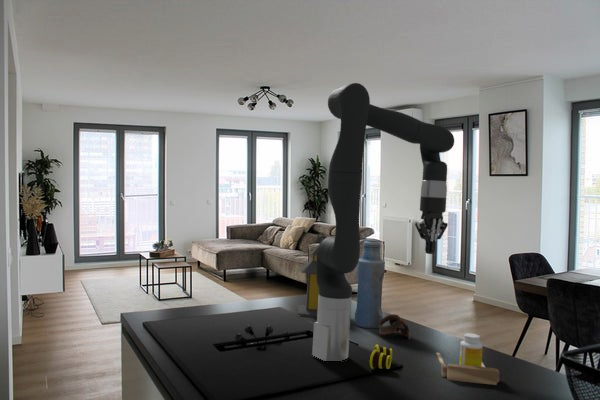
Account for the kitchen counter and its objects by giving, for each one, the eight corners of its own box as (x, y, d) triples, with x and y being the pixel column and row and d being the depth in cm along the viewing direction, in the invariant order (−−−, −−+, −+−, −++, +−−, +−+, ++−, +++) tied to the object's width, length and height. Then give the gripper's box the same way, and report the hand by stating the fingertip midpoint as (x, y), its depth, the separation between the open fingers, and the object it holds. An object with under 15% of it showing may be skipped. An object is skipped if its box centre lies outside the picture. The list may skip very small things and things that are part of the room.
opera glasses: (389, 374, 131) (390, 354, 131) (368, 371, 133) (370, 352, 133) (392, 362, 141) (393, 344, 141) (373, 359, 142) (374, 341, 142)
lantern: (336, 318, 186) (340, 236, 185) (297, 316, 186) (302, 234, 185) (334, 309, 200) (338, 233, 199) (298, 307, 200) (302, 230, 199)
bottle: (378, 330, 172) (383, 241, 172) (350, 326, 176) (355, 239, 176) (385, 324, 181) (389, 239, 180) (358, 320, 185) (362, 237, 184)
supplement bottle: (485, 376, 133) (488, 337, 133) (469, 378, 131) (471, 339, 131) (470, 369, 138) (472, 331, 138) (454, 371, 136) (456, 333, 136)
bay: (432, 353, 151) (433, 341, 151) (481, 357, 149) (482, 345, 149) (443, 379, 129) (444, 365, 129) (501, 385, 127) (501, 371, 127)
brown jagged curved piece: (414, 344, 161) (403, 322, 159) (386, 354, 163) (375, 332, 161) (410, 325, 172) (400, 304, 170) (384, 334, 174) (374, 314, 172)
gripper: (429, 195, 146) (425, 256, 146) (457, 197, 154) (453, 254, 154) (409, 194, 152) (405, 252, 152) (437, 196, 160) (433, 251, 160)
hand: (429, 253), depth 153 cm, fingers closed
